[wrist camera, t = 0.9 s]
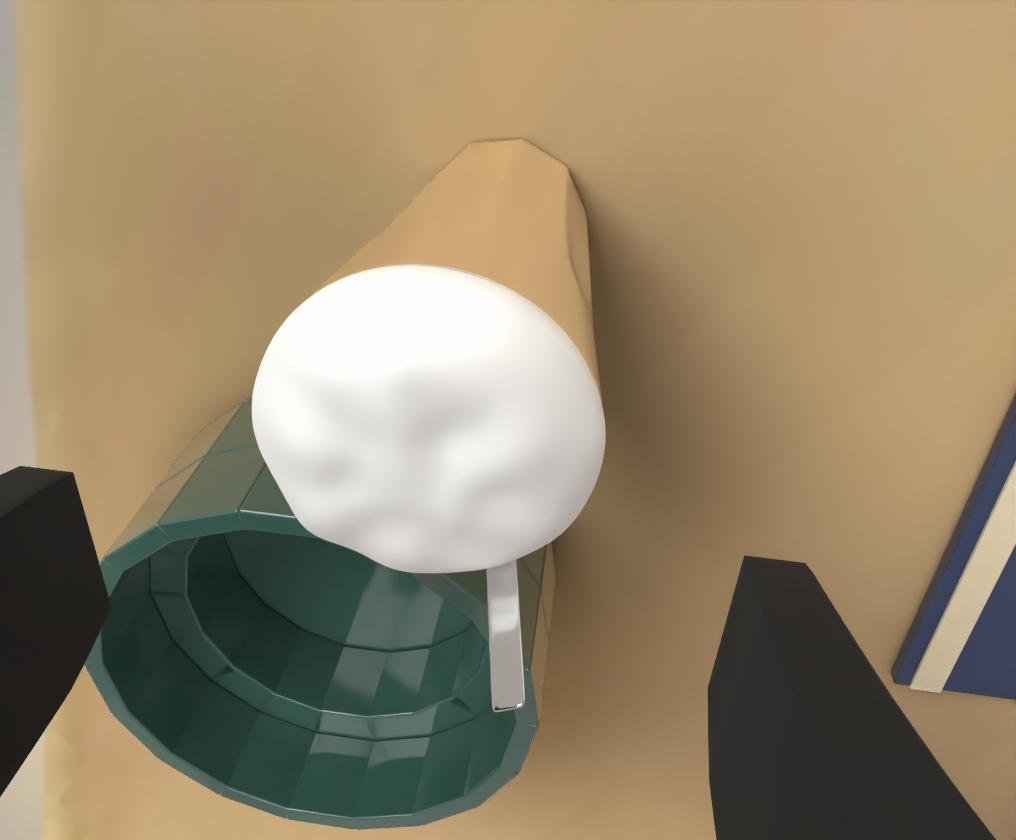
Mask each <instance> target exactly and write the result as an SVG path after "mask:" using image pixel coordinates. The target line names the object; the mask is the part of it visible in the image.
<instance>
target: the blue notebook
mask: <svg viewBox="0 0 1016 840" xmlns="http://www.w3.org/2000/svg"><path fill="white" fill-rule="evenodd" d="M891 675H892V678H893V681H894V683H895V684H902V685H909V688H910V689H914V690H921V691H929V692H936V693H941V691H942V690H947V691H955V692H962V693H970V694H977V695H985V696H992V697H1000V698H1007V699H1015V700H1016V395H1015V397H1014V399H1013V401H1012V404H1011V406H1010V408H1009V410H1008V412H1007V415H1006V417H1005V419H1004V421H1003V424H1002V426H1001V428H1000V430H999V433H998V435H997V437H996V439H995V441H994V444H993V446H992V448H991V450H990V453H989V455H988V457H987V459H986V461H985V464H984V466H983V468H982V470H981V473H980V475H979V477H978V479H977V482H976V484H975V486H974V488H973V490H972V493H971V495H970V497H969V499H968V502H967V504H966V506H965V508H964V511H963V513H962V515H961V517H960V519H959V522H958V524H957V526H956V528H955V531H954V533H953V535H952V537H951V539H950V542H949V544H948V546H947V548H946V551H945V553H944V555H943V557H942V560H941V562H940V564H939V566H938V568H937V571H936V573H935V575H934V577H933V580H932V582H931V584H930V586H929V589H928V591H927V593H926V595H925V597H924V600H923V602H922V604H921V606H920V609H919V611H918V613H917V615H916V617H915V620H914V622H913V624H912V626H911V629H910V631H909V633H908V635H907V638H906V640H905V642H904V644H903V646H902V649H901V651H900V653H899V655H898V658H897V660H896V662H895V664H894V666H893V669H892V671H891Z"/></svg>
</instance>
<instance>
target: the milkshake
mask: <svg viewBox="0 0 1016 840" xmlns="http://www.w3.org/2000/svg"><path fill="white" fill-rule="evenodd" d="M252 423H253V429H254V433H255V437H256V441H257V443H258V446H259V449H260V451H261V454H262V456H263V458H264V460H265V462H266V464H267V466H268V468H269V470H270V472H271V473H272V475H273V477H274V479H275V480H276V482H277V484H278V486H279V488H280V490H281V491H282V493H283V495H284V497H285V499H286V501H287V502H288V504H289V506H290V508H291V510H292V511H293V513H294V515H295V516H296V518H297V519H298V521H299V522H300V523H301V524H302V525H303V526H304V527H305V528H306V529H307V530H308V531H309V532H311V533H312V534H314V535H316V536H318V537H320V538H322V539H324V540H327V541H329V542H332V543H335V544H338V545H341V546H344V547H347V548H349V549H352V550H354V551H356V552H359V553H361V554H363V555H365V556H366V557H368V558H370V559H372V560H374V561H376V562H378V563H380V564H382V565H384V566H387V567H389V568H392V569H395V570H399V571H404V572H411V573H454V572H466V571H475V570H482V569H486V582H487V607H488V631H489V655H490V679H491V700H492V709H493V711H494V712H501V711H507V710H512V709H516V708H520V707H523V706H524V703H525V691H524V674H523V658H522V642H521V626H520V610H519V594H518V578H517V562H516V559H518V558H521V557H523V556H525V555H527V554H529V553H531V552H533V551H535V550H537V549H539V548H541V547H543V546H545V545H546V544H548V543H550V542H551V541H553V540H554V539H555V538H557V537H558V536H559V535H561V534H562V533H563V532H564V531H565V530H566V529H567V528H568V527H569V526H570V525H571V524H572V523H573V521H574V520H575V519H576V518H577V516H578V515H579V514H580V512H581V511H582V509H583V507H584V506H585V504H586V502H587V501H588V499H589V497H590V495H591V493H592V491H593V489H594V487H595V484H596V482H597V479H598V476H599V473H600V470H601V466H602V462H603V457H604V451H605V440H606V430H605V419H604V413H603V404H602V395H601V387H600V379H599V371H598V363H597V355H596V347H595V339H594V330H593V317H592V296H591V279H590V263H589V247H588V231H587V216H586V211H585V209H584V207H583V204H582V202H581V200H580V197H579V195H578V192H577V190H576V188H575V185H574V183H573V180H572V178H571V175H570V173H569V170H568V168H567V166H566V165H564V164H563V163H561V162H559V161H558V160H556V159H554V158H553V157H551V156H550V155H548V154H546V153H545V152H543V151H541V150H540V149H538V148H537V147H535V146H533V145H532V144H530V143H528V142H527V141H525V140H524V139H513V140H502V141H490V142H477V143H471V144H469V145H468V146H467V147H466V148H465V149H464V150H463V151H462V152H461V153H460V154H459V155H458V156H457V157H455V158H454V159H453V160H452V161H451V162H450V163H449V164H448V165H447V166H446V167H445V168H444V169H442V170H441V171H440V172H439V173H438V174H437V175H436V176H435V177H434V178H433V179H432V180H431V181H430V182H429V183H428V184H427V185H426V186H425V187H424V188H423V189H422V190H421V191H420V192H419V193H418V195H417V196H416V197H415V198H414V199H413V200H412V201H411V202H410V203H409V204H408V205H407V206H406V207H405V208H404V209H403V211H402V212H401V213H400V214H399V215H398V216H397V217H396V218H395V219H394V220H393V221H392V222H391V223H390V224H389V225H388V226H387V228H386V229H385V230H384V231H383V232H381V233H380V234H379V235H377V236H376V237H375V238H374V239H372V240H371V241H370V242H369V243H368V244H366V245H365V246H364V247H363V248H362V249H361V250H360V251H358V252H357V253H356V254H355V255H354V256H353V257H352V258H351V259H350V260H348V261H347V262H346V263H345V264H344V265H343V266H342V267H341V268H340V269H339V270H337V271H336V272H335V273H334V274H333V275H332V276H331V277H330V278H329V279H328V280H326V281H325V282H324V283H323V284H322V285H321V286H320V287H319V288H318V289H317V290H316V291H314V292H313V293H312V294H311V295H310V296H309V297H308V298H307V299H306V300H305V301H304V302H303V303H302V304H301V305H300V306H299V307H297V308H296V309H295V310H294V311H293V312H292V313H291V314H290V316H289V317H288V318H287V319H286V320H285V322H284V323H283V324H282V325H281V327H280V328H279V330H278V331H277V333H276V334H275V336H274V337H273V339H272V341H271V343H270V345H269V346H268V348H267V351H266V353H265V355H264V357H263V360H262V362H261V365H260V367H259V370H258V373H257V377H256V381H255V385H254V389H253V395H252Z"/></svg>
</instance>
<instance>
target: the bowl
mask: <svg viewBox="0 0 1016 840" xmlns="http://www.w3.org/2000/svg"><path fill="white" fill-rule="evenodd" d="M516 562H517V578H518V594H519V610H520V626H521V642H522V658H523V674H524V691H525V703H524V706H523V707H520V708H516V709H512V710H507V711H501V712H494V711H493V709H492V700H491V679H490V655H489V631H488V607H487V582H486V569H482V570H475V571H466V572H454V573H411V572H404V571H399V570H395V569H392V568H389V567H387V566H384V565H382V564H380V563H378V562H376V561H374V560H372V559H370V558H368V557H366V556H365V555H363V554H361V553H359V552H356V551H354V550H352V549H349V548H347V547H344V546H341V545H338V544H335V543H332V542H329V541H327V540H324V539H322V538H320V537H318V536H316V535H314V534H312V533H311V532H309V531H308V530H307V529H306V528H305V527H304V526H303V525H302V524H301V523H300V522H299V521H298V519H297V518H296V516H295V515H294V513H293V511H292V510H291V508H290V506H289V504H288V502H287V501H286V499H285V497H284V495H283V493H282V491H281V490H280V488H279V486H278V484H277V482H276V480H275V479H274V477H273V475H272V473H271V472H270V470H269V468H268V466H267V464H266V462H265V460H264V458H263V456H262V454H261V451H260V449H259V446H258V443H257V441H256V437H255V433H254V429H253V423H252V399H248V400H246V402H242V403H241V404H240V405H238V406H237V407H235V408H234V409H232V410H231V411H229V412H228V413H226V414H225V415H223V416H222V417H221V418H219V419H218V420H216V421H215V422H213V423H212V424H210V425H209V426H207V427H206V428H204V429H203V430H202V431H200V432H199V433H198V434H197V435H196V436H195V437H194V438H193V440H192V441H191V442H190V444H189V445H188V446H187V448H186V449H185V450H184V452H183V453H182V454H181V456H180V457H179V458H178V460H177V461H176V462H175V463H174V465H173V466H172V467H171V469H170V470H169V471H168V473H167V474H166V475H165V477H164V478H163V479H162V481H161V482H160V483H159V485H158V486H157V487H156V489H155V490H154V492H152V493H151V495H150V496H149V497H148V499H147V500H146V501H145V503H144V504H143V505H142V507H141V508H140V509H139V511H138V512H137V513H136V515H135V516H134V517H133V518H132V520H131V521H130V522H129V524H128V525H127V526H126V528H125V529H124V530H123V532H122V533H121V534H120V536H119V537H118V538H117V540H116V541H115V542H114V544H113V545H112V546H111V547H110V549H109V550H108V551H107V553H106V554H105V555H104V557H103V558H102V560H101V561H100V563H99V565H100V568H101V572H102V575H103V579H104V582H105V585H106V589H107V592H108V596H109V599H110V603H111V606H112V607H111V609H110V611H109V614H108V616H107V618H106V620H105V622H104V624H103V626H102V628H101V631H100V633H99V635H98V637H97V639H96V641H95V643H94V645H93V648H92V650H91V652H90V654H89V656H88V658H87V660H86V662H85V664H84V666H85V668H86V670H87V671H88V673H89V675H90V677H91V678H92V680H93V682H94V684H95V686H96V687H97V689H98V691H99V693H100V695H101V696H102V698H103V700H104V702H105V703H106V705H107V707H108V709H109V711H110V712H111V713H113V716H114V717H115V718H116V719H117V720H118V721H119V722H120V723H121V724H122V725H124V726H125V727H126V728H127V729H128V730H129V731H130V732H131V733H132V734H133V735H134V736H135V737H136V738H137V739H138V740H139V741H140V742H141V743H142V744H143V745H144V746H146V747H147V748H148V749H149V750H150V751H151V752H152V753H153V754H154V755H155V756H156V757H157V758H159V759H160V760H161V761H163V762H164V763H166V764H168V765H169V766H171V767H173V768H174V769H176V770H178V771H179V772H181V773H183V774H184V775H186V776H188V777H189V778H191V779H193V780H195V781H196V782H198V783H200V784H201V785H203V786H205V787H206V788H208V789H210V790H211V791H213V792H215V793H216V794H221V796H223V797H226V798H228V799H231V800H234V801H237V802H240V803H242V804H245V805H248V806H251V807H254V808H257V809H259V810H262V811H265V812H268V813H271V814H273V815H276V816H279V817H282V818H285V819H286V818H287V819H289V820H295V821H301V822H308V823H314V824H321V825H328V826H334V827H341V828H347V829H357V830H362V829H379V828H396V827H413V826H421V825H426V824H429V823H432V822H435V821H438V820H441V819H444V818H447V817H450V816H453V815H456V814H459V813H462V812H465V811H468V810H471V809H474V808H476V807H477V806H480V805H481V804H483V803H484V802H485V801H486V800H487V799H489V798H490V797H491V796H492V795H493V794H495V793H496V792H497V791H498V790H500V789H501V788H502V787H503V786H504V785H506V784H507V783H508V782H509V781H511V780H512V779H513V778H514V777H515V776H517V775H518V774H519V772H520V771H521V769H522V766H523V764H524V762H525V759H526V757H527V754H528V752H529V749H530V747H531V744H532V742H533V739H534V737H535V735H536V732H537V730H538V727H539V722H540V713H541V704H542V695H543V687H544V678H545V669H546V660H547V652H548V642H549V633H550V625H551V616H552V607H553V598H554V590H555V581H556V575H555V566H554V558H553V550H552V542H550V543H548V544H546V545H545V546H543V547H541V548H539V549H537V550H535V551H533V552H531V553H529V554H527V555H525V556H523V557H521V558H518V559H516Z"/></svg>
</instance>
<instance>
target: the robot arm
mask: <svg viewBox="0 0 1016 840" xmlns="http://www.w3.org/2000/svg"><path fill="white" fill-rule="evenodd" d="M111 607H112V606H111V603H110V599H109V596H108V592H107V589H106V585H105V582H104V579H103V575H102V572H101V568H100V565H99V561H98V558H97V554H96V551H95V547H94V544H93V540H92V537H91V533H90V530H89V526H88V523H87V519H86V516H85V512H84V509H83V505H82V502H81V498H80V495H79V491H78V488H77V484H76V481H75V477H74V474H73V472H65V471H57V470H49V469H41V468H33V467H24V466H19V467H17V468H15V469H13V470H10V471H8V472H6V473H4V474H2V475H0V797H1V795H2V794H3V792H4V791H5V789H6V788H7V786H8V785H9V783H10V782H11V780H12V779H13V777H14V776H15V774H16V773H17V771H18V770H19V768H20V767H21V765H22V764H23V762H24V761H25V759H26V758H27V756H28V755H29V753H30V752H31V750H32V749H33V747H34V746H35V744H36V743H37V741H38V740H39V738H40V737H41V735H42V734H43V732H44V731H45V729H46V728H47V726H48V725H49V723H50V722H51V720H52V718H53V717H54V715H55V714H56V712H57V711H58V709H59V708H60V706H61V705H62V703H63V701H64V700H65V698H66V697H67V695H68V694H69V692H70V691H71V689H72V687H73V685H74V683H75V681H76V679H77V677H78V675H79V673H80V671H81V669H82V667H83V665H84V664H85V662H86V660H87V658H88V656H89V654H90V652H91V650H92V648H93V645H94V643H95V641H96V639H97V637H98V635H99V633H100V631H101V628H102V626H103V624H104V622H105V620H106V618H107V616H108V614H109V611H110V609H111ZM708 743H709V782H710V790H711V799H712V807H713V815H714V823H715V831H716V838H717V840H996V839H995V838H994V836H993V835H992V834H991V833H990V831H989V830H988V829H987V827H986V826H985V825H984V823H983V822H982V821H981V820H980V818H979V817H978V816H977V814H976V813H975V812H974V811H973V809H972V808H971V807H970V805H969V804H968V803H967V801H966V800H965V799H964V797H963V796H962V794H961V793H960V792H959V790H958V789H957V788H956V786H955V785H954V784H953V782H952V781H951V780H950V778H949V777H948V776H947V774H946V773H945V771H944V770H943V769H942V767H941V766H940V764H939V763H938V762H937V760H936V759H935V757H934V756H933V755H932V753H931V752H930V750H929V749H928V747H927V746H926V745H925V743H924V742H923V740H922V739H921V737H920V736H919V735H918V733H917V732H916V730H915V729H914V727H913V726H912V725H911V723H910V722H909V720H908V719H907V718H906V716H905V715H904V713H903V712H902V710H901V709H900V708H899V706H898V705H897V703H896V702H895V700H894V699H893V697H892V696H891V694H890V693H889V691H888V690H887V688H886V687H885V685H884V684H883V682H882V681H881V679H880V678H879V676H878V675H877V673H876V672H875V670H874V669H873V667H872V666H871V664H870V663H869V661H868V659H867V658H866V656H865V655H864V653H863V652H862V650H861V649H860V647H859V646H858V644H857V643H856V641H855V639H854V638H853V636H852V635H851V633H850V632H849V630H848V628H847V627H846V625H845V624H844V622H843V620H842V619H841V617H840V616H839V614H838V612H837V611H836V609H835V608H834V606H833V604H832V603H831V601H830V600H829V598H828V596H827V595H826V593H825V592H824V590H823V588H822V587H821V585H820V583H819V582H818V580H817V579H816V577H815V575H814V574H813V572H812V571H811V570H810V569H809V567H808V566H807V565H806V563H800V562H792V561H784V560H776V559H768V558H760V557H752V556H744V559H743V562H742V566H741V570H740V573H739V577H738V581H737V584H736V588H735V591H734V595H733V599H732V602H731V606H730V610H729V613H728V617H727V620H726V624H725V628H724V631H723V635H722V638H721V642H720V646H719V649H718V653H717V657H716V660H715V664H714V667H713V671H712V675H711V678H710V682H709V686H708Z"/></svg>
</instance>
